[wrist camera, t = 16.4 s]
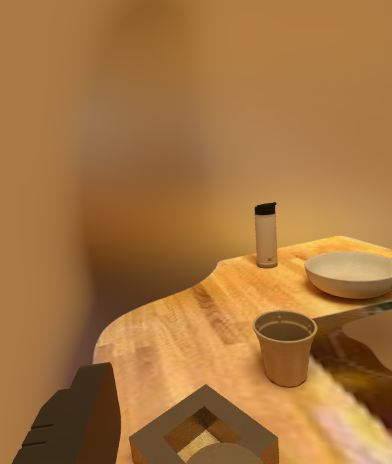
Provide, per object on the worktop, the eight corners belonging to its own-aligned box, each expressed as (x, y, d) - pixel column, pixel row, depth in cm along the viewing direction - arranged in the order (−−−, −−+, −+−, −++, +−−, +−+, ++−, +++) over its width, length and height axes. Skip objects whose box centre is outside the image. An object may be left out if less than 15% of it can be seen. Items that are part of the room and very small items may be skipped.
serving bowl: (315, 271, 89) (314, 248, 88) (401, 280, 78) (402, 254, 76) (295, 300, 72) (294, 273, 71) (401, 318, 61) (403, 285, 59)
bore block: (207, 405, 43) (205, 384, 43) (279, 463, 34) (278, 437, 34) (133, 461, 36) (128, 437, 35) (198, 554, 27) (194, 524, 26)
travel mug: (275, 269, 93) (272, 204, 89) (254, 267, 96) (251, 204, 92) (280, 262, 98) (278, 201, 94) (261, 261, 102) (258, 201, 97)
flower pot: (245, 363, 52) (242, 317, 50) (294, 349, 54) (293, 305, 52) (274, 403, 43) (272, 348, 41) (331, 384, 45) (331, 332, 43)
